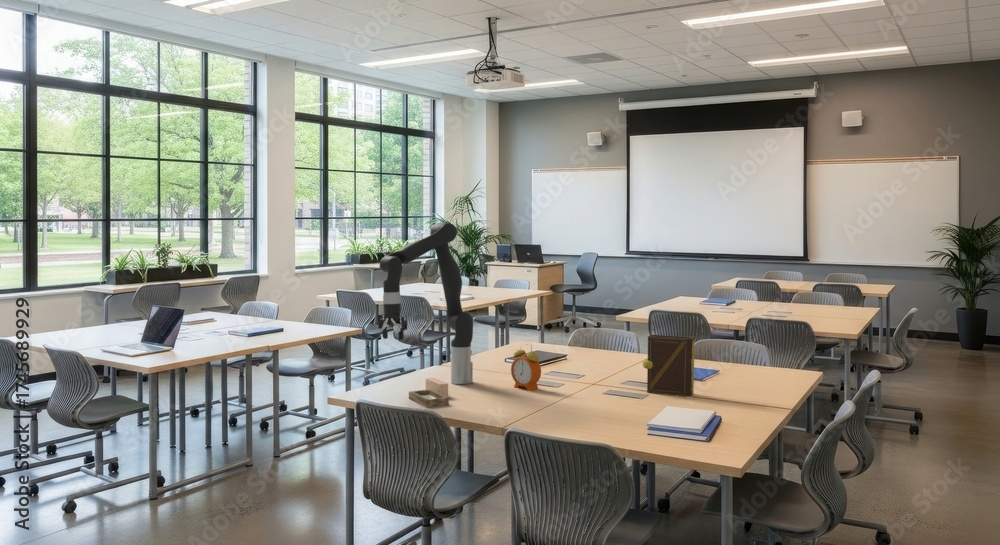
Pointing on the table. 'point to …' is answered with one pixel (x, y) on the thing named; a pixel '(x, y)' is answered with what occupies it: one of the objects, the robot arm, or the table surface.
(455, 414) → the table surface
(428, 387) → the strip
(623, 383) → the table surface
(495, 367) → the table surface
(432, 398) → the picture frame
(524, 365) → the alarm clock
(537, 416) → the table surface
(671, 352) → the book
